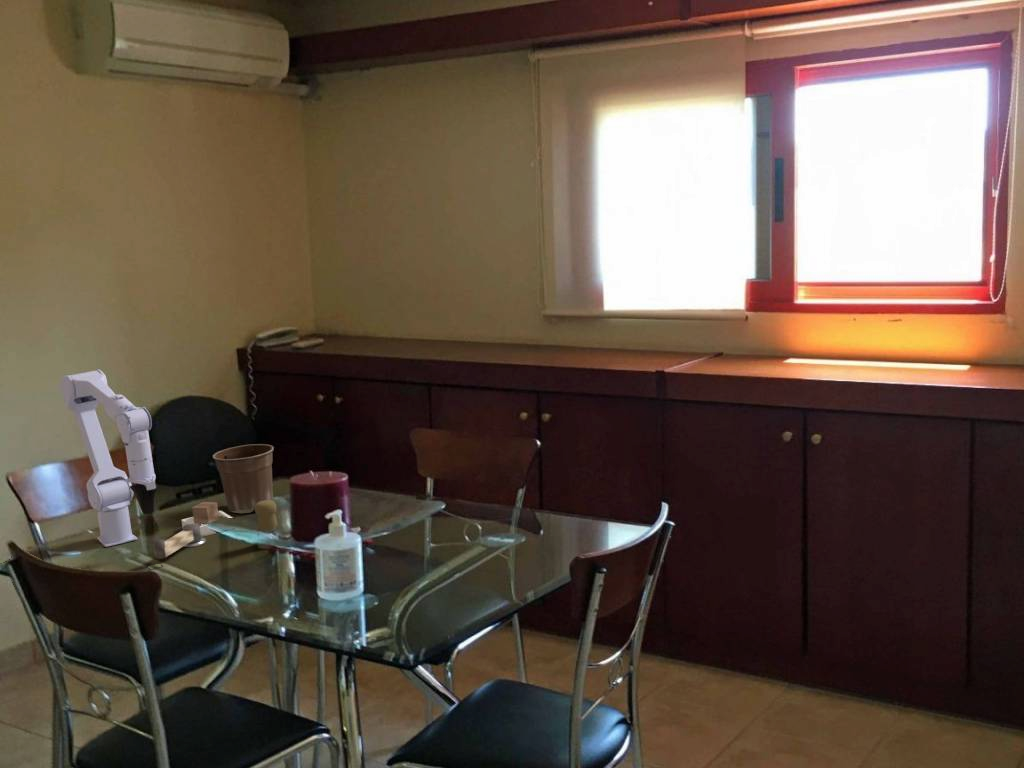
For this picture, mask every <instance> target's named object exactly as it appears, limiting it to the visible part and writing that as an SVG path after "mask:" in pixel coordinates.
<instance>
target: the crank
mask: <svg viewBox="0 0 1024 768" xmlns="http://www.w3.org/2000/svg"><path fill="white" fill-rule="evenodd" d="M201 538H202V537H201V533H200V526H199V524H188V525H185V526H183V528H182V530H181V531H180V532H178V533H176V534H174V535H173V536H172V537H169V538H168V539H166V540H165V539H161V538H160V539H155V540H154V541H153V545H154V552H155V553H154V555H155V558H156V559H157V560H160V559H161V560H162V559H165V558H167V557H168V556H170V555H172V554H173V553H175V552H176V551H179V550H180V549H181V548H184V547H183V546H185V545H186V544H188V543H194V542H198V541H200V540H201Z"/></svg>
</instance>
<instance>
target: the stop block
mask: <svg viewBox="0 0 1024 768" xmlns="http://www.w3.org/2000/svg"><path fill="white" fill-rule="evenodd" d="M218 507H219V506H218V502H212V501H211V502H209V501H206V502H203V501H202V502H199V503H198V504H196V505H194V506H192V507H191V510H192V517H193V518H194V524H199V526H201V524H209V523H211V522H213V521H216V520H218V519H219V514H218V511H219V509H218Z"/></svg>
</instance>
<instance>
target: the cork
mask: <svg viewBox="0 0 1024 768" xmlns="http://www.w3.org/2000/svg"><path fill="white" fill-rule="evenodd" d="M277 508H278V507H277V504H276V501H274V500H273V501H272V500H264V501H260V502H258V503H257V504H256V505H255V511H254V512H255V515H257V531H258V530H259V531H267V530H272V529H274V528H275V527H276V526H277V524H278V523H279V522H278V520H277V516H276V512H277ZM278 525H279V524H278ZM257 547H258V548H259V549H263V550H264V549H266V550H267V549H268V550H269V549H272V548H271V547H267V546H262V545H258V544H257Z"/></svg>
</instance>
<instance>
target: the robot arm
mask: <svg viewBox="0 0 1024 768" xmlns="http://www.w3.org/2000/svg"><path fill="white" fill-rule="evenodd" d="M60 392H61V394H62V397H63V400H64V404H65V405H66V408H67V410H69V411H72V412H73V413H74V416H75V420H76V422H77V425H78V429H79V430H80V432H79V433H80V435H81V437H82V441H83V444H84V447H85V450H86V453H87V455H88V458H89V461H90V464H91V468H92V470H93V473H92V475H91V476H90V477H89V479H88V480H87V481H86V485H85V486H86V490H87V498H88V503H89V504H90V506H91V507H92V508H93V509H94V510H95V511H98V512H97V522H98V528H99V533H100V534H99V536H97V537H96V540H98V541H99V543H101V545H103V547H106V548H108V547H111V546H116V545H119V544H125V543H129V542H132V541H137V540H138V537H137V536H136V535H134V534H133V532H132V527H131V526H132V524H131V518H130V511H129V506H130V505H131V501H132V500H133V497H134V496H135V497H136V500H137V503H138V505H139V508H140V510H141V512H142V514H143V515H146V514H151V513H153V510H154V499H155V494H156V491H157V489H158V484H157V483H156V478H157V477H156V473H155V468H154V463H153V456H152V448H151V441H150V435H149V431H150V430H151V429H152V426H153V423H152V422H153V420H152V416H151V414H150V412H149V410H148V409H147V407H145V406H143V407H139V406H138V407H137V406H135V404H134V403H133V402H131V401H130V400H129V399H127V397H126V396H124V395H123V394H121V393H120V394H115V392H114V391H113V390H112V389H111V388H110V386H108V380H107V376H106V374H105V372H103V371H102V369H95V370H92V371H87V372H82V373H81V372H80V373H76V374H70V375H68V374H67V375H64V376H63V377H62V379H61V382H60ZM100 404H102V405H103V406H104V412H105V413H106V414H107V415H108V416H109V417H110V419H112V420H113V421H114V422H116V425H117V426H116V427H117V429H118V431H119V433H120V437H121V440H122V442H123V443H124V446H125V447H124V448H125V454H126V461H127V467H128V475H129V477H128V476H127V473H126V471H124V470H122V469H119V468H118V467H115V466H114V464H113V460H112V457H111V455H110V452H109V448H108V445H107V442H106V439H105V437H104V434H103V430H102V427H101V424H100V421H99V418H98V416H97V412H96V408H97V406H99V405H100ZM132 484H133V485H132Z"/></svg>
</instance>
